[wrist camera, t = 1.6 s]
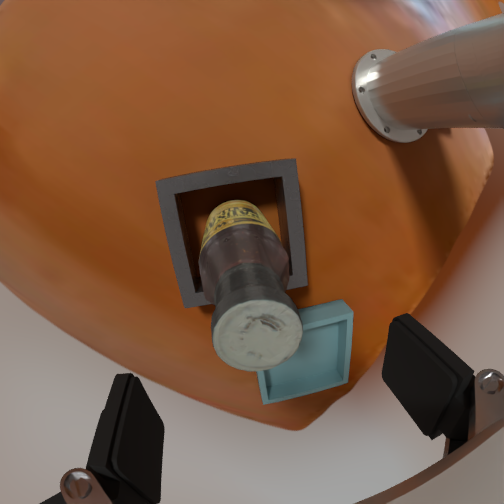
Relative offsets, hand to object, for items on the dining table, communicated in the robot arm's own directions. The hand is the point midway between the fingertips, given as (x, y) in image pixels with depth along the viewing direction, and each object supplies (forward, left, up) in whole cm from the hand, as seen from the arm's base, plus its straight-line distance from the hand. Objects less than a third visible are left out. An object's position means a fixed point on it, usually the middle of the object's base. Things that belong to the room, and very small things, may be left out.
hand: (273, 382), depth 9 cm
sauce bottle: (0, 0, -23) cm, 23 cm away
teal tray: (-6, +18, -23) cm, 29 cm away
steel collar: (0, 0, -23) cm, 23 cm away
